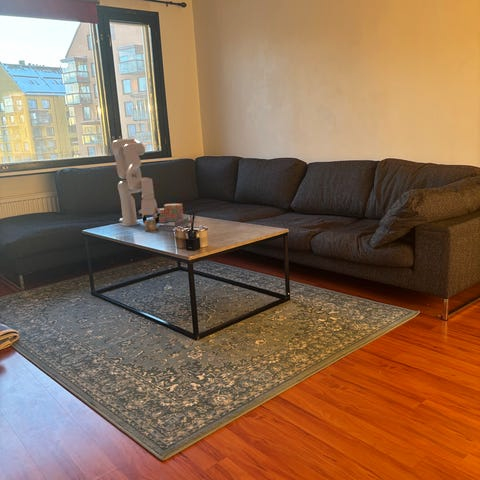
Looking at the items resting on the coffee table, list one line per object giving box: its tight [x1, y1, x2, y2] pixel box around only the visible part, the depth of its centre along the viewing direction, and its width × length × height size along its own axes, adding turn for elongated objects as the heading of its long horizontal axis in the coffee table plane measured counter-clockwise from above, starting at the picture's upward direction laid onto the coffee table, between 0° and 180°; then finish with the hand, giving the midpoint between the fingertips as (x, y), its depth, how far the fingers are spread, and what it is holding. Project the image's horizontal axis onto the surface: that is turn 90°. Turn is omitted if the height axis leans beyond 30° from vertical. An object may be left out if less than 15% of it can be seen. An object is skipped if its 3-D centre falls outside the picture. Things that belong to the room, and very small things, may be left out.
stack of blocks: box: [152, 203, 185, 223], centre depth 353 cm, size 21×6×12 cm, turn 83°
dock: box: [157, 217, 189, 232], centre depth 328 cm, size 14×16×6 cm
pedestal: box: [144, 218, 159, 233], centre depth 323 cm, size 6×6×7 cm
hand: (151, 223), depth 322 cm, fingers open, 9 cm apart
